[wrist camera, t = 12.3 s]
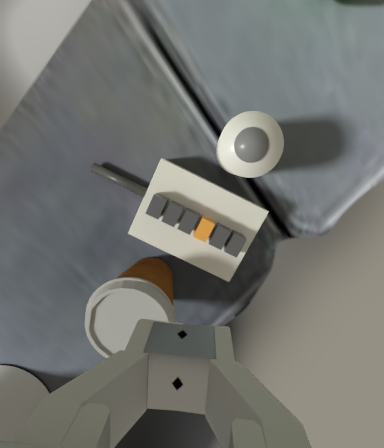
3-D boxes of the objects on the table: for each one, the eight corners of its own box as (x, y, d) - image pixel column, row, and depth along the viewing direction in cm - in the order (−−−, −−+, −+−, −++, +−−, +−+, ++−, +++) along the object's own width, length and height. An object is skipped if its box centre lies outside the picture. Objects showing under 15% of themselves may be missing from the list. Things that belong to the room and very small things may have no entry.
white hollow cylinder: (249, 182, 34) (264, 188, 25) (207, 162, 34) (208, 160, 25) (272, 139, 33) (296, 128, 24) (229, 117, 32) (238, 98, 23)
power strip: (226, 269, 37) (230, 289, 31) (83, 200, 36) (59, 207, 30) (261, 206, 34) (273, 214, 29) (110, 131, 34) (89, 123, 28)
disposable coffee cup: (147, 232, 36) (118, 263, 24) (198, 276, 37) (194, 326, 25) (106, 279, 38) (61, 329, 26) (155, 319, 39) (133, 385, 27)
